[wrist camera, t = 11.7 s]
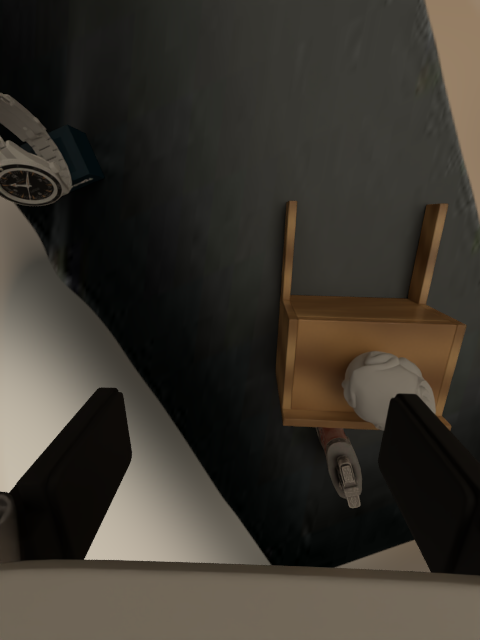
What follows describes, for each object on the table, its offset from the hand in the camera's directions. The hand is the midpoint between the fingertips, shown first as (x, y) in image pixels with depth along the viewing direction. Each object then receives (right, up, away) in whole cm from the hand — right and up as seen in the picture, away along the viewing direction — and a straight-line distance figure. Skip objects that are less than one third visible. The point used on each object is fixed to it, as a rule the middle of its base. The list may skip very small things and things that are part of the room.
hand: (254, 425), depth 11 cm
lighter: (+11, -11, +30) cm, 34 cm away
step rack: (+12, +6, +24) cm, 28 cm away
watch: (-18, +20, +21) cm, 34 cm away
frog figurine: (+11, -1, +17) cm, 21 cm away
